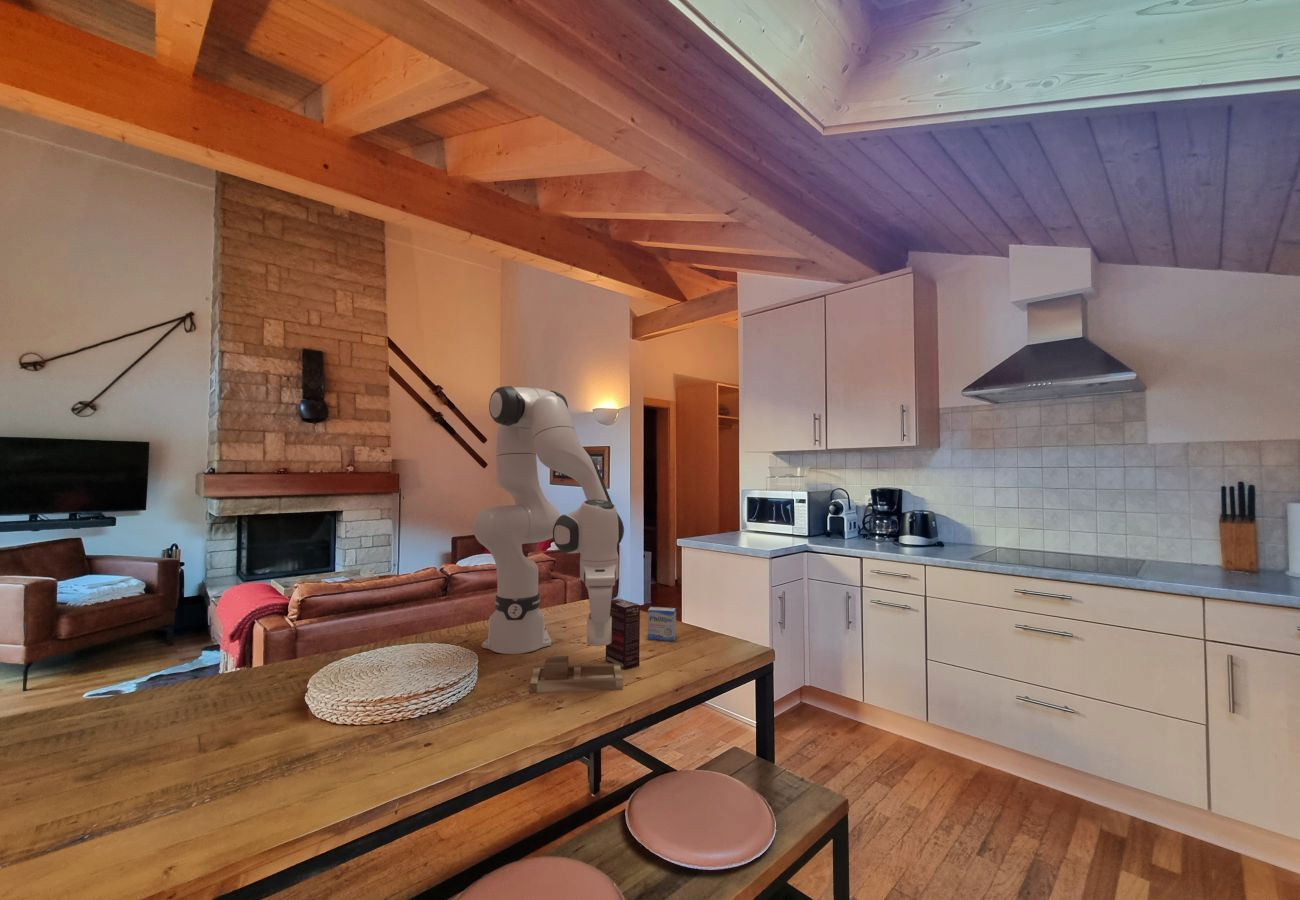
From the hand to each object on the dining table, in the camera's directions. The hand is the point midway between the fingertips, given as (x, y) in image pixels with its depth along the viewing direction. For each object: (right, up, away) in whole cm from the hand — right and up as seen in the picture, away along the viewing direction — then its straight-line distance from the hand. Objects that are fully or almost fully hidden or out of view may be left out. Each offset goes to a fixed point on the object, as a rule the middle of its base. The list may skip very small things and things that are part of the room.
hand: (599, 632), depth 120 cm
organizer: (-5, -12, -1) cm, 13 cm away
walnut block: (-10, -11, -1) cm, 15 cm away
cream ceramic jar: (0, -2, 0) cm, 2 cm away
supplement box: (+5, -13, +12) cm, 18 cm away
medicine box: (+15, -14, +34) cm, 40 cm away
